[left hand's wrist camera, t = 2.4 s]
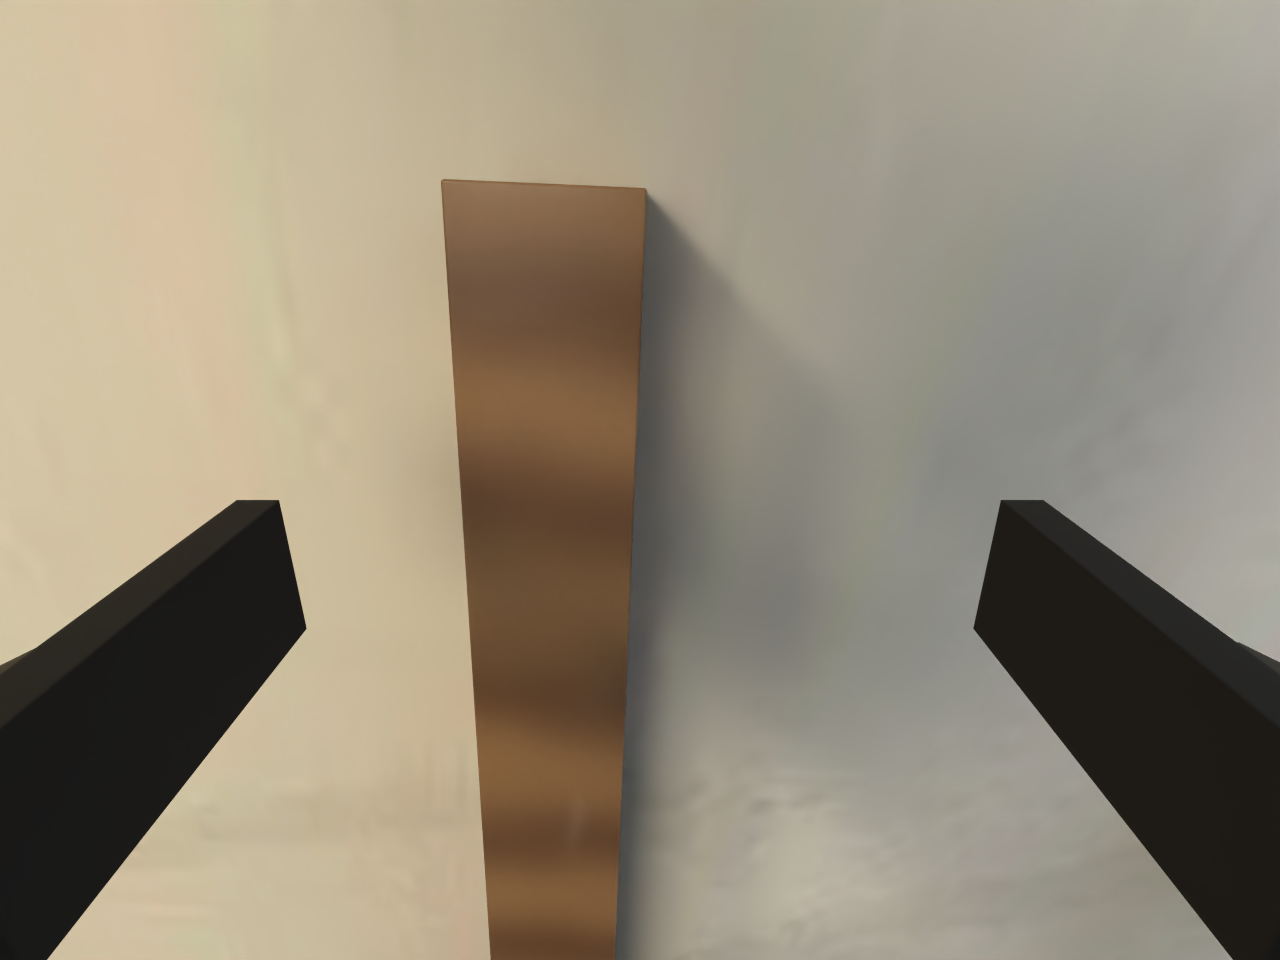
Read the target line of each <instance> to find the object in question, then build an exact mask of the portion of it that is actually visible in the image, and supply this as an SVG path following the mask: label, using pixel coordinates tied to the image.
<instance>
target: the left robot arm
mask: <svg viewBox="0 0 1280 960" xmlns="http://www.w3.org/2000/svg"><path fill="white" fill-rule="evenodd" d="M306 629H307V628H306V624H305V619H304V614H303V610H302V605H301V600H300V596H299V591H298V587H297V582H296V577H295V573H294V568H293V563H292V559H291V554H290V549H289V545H288V540H287V535H286V531H285V526H284V521H283V517H282V512H281V508H280V503H279V500H236V501H235V502H234V503H232V504H231V505H230V506H228V507H227V508H225V509H224V510H223V511H221V512H220V513H219V514H217V515H216V516H215V517H213V518H212V519H211V520H209V521H208V522H206V523H205V524H204V525H202V526H201V527H200V528H198V529H197V530H196V531H194V532H193V533H192V534H190V535H189V536H187V537H186V538H185V539H183V540H182V541H181V542H179V543H178V544H177V545H175V546H174V547H173V548H171V549H170V550H168V551H167V552H166V553H164V554H163V555H162V556H160V557H159V558H158V559H156V560H155V561H154V562H152V563H151V564H149V565H148V566H147V567H145V568H144V569H143V570H141V571H140V572H139V573H137V574H136V575H135V576H133V577H132V578H130V579H129V580H128V581H126V582H125V583H124V584H122V585H121V586H120V587H118V588H117V589H115V590H114V591H113V592H111V593H110V594H109V595H107V596H106V597H105V598H103V599H102V600H101V601H99V602H98V603H96V604H95V605H94V606H92V607H91V608H90V609H88V610H87V611H86V612H84V613H83V614H82V615H80V616H79V617H77V618H76V619H75V620H73V621H72V622H71V623H69V624H68V625H67V626H65V627H64V628H63V629H61V630H60V631H58V632H57V633H56V634H54V635H53V636H52V637H50V638H49V639H48V640H46V641H45V642H44V643H42V644H41V645H39V646H38V647H37V648H35V649H33V650H31V651H29V652H27V653H25V654H23V655H21V656H19V657H17V658H15V659H13V660H11V661H9V662H6V663H4V664H2V665H0V960H47V959H48V958H49V956H50V955H51V954H52V953H53V951H54V950H55V949H56V947H57V946H58V945H59V944H60V942H61V941H62V940H63V939H64V937H65V936H66V935H67V933H68V932H69V931H70V930H71V928H72V927H73V926H74V924H75V923H76V922H77V921H78V919H79V918H80V917H81V916H82V914H83V913H84V912H85V910H86V909H87V908H88V907H89V905H90V904H91V903H92V902H93V900H94V899H95V898H96V896H97V895H98V894H99V893H100V891H101V890H102V889H103V888H104V886H105V885H106V884H107V882H108V881H109V880H110V879H111V877H112V876H113V875H114V873H115V872H116V871H117V870H118V868H119V867H120V866H121V865H122V863H123V862H124V861H125V859H126V858H127V857H128V856H129V854H130V853H131V852H132V851H133V849H134V848H135V847H136V845H137V844H138V843H139V842H140V840H141V839H142V838H143V836H144V835H145V834H146V833H147V831H148V830H149V829H150V828H151V826H152V825H153V824H154V822H155V821H156V820H157V819H158V817H159V816H160V815H161V814H162V812H163V811H164V810H165V808H166V807H167V806H168V805H169V803H170V802H171V801H172V800H173V798H174V797H175V796H176V794H177V793H178V792H179V791H180V789H181V788H182V787H183V785H184V784H185V783H186V782H187V780H188V779H189V778H190V777H191V775H192V774H193V773H194V771H195V770H196V769H197V768H198V766H199V765H200V764H201V763H202V761H203V760H204V759H205V757H206V756H207V755H208V754H209V752H210V751H211V750H212V748H213V747H214V746H215V745H216V743H217V742H218V741H219V740H220V738H221V737H222V736H223V734H224V733H225V732H226V731H227V729H228V728H229V727H230V726H231V724H232V723H233V722H234V720H235V719H236V718H237V717H238V715H239V714H240V713H241V712H242V710H243V709H244V708H245V706H246V705H247V704H248V703H249V701H250V700H251V699H252V697H253V696H254V695H255V694H256V692H257V691H258V690H259V689H260V687H261V686H262V685H263V683H264V682H265V681H266V680H267V678H268V677H269V676H270V675H271V673H272V672H273V671H274V669H275V668H276V667H277V666H278V664H279V663H280V662H281V660H282V659H283V658H284V657H285V655H286V654H287V653H288V652H289V650H290V649H291V648H292V646H293V645H294V644H295V643H296V641H297V640H298V639H299V638H300V636H301V635H302V634H303V632H304V631H305V630H306ZM973 629H974V630H975V631H976V632H977V634H978V635H979V636H980V638H981V639H982V640H983V641H984V643H985V644H986V645H987V646H988V648H989V649H990V650H991V652H992V653H993V654H994V655H995V657H996V658H997V659H998V660H999V662H1000V663H1001V664H1002V666H1003V667H1004V668H1005V669H1006V671H1007V672H1008V673H1009V675H1010V676H1011V677H1012V678H1013V680H1014V681H1015V682H1016V683H1017V685H1018V686H1019V687H1020V689H1021V690H1022V691H1023V692H1024V694H1025V695H1026V696H1027V697H1028V699H1029V700H1030V701H1031V703H1032V704H1033V705H1034V706H1035V708H1036V709H1037V710H1038V712H1039V713H1040V714H1041V715H1042V717H1043V718H1044V719H1045V720H1046V722H1047V723H1048V724H1049V726H1050V727H1051V728H1052V729H1053V731H1054V732H1055V733H1056V734H1057V736H1058V737H1059V738H1060V740H1061V741H1062V742H1063V743H1064V745H1065V746H1066V747H1067V748H1068V750H1069V751H1070V752H1071V754H1072V755H1073V756H1074V757H1075V759H1076V760H1077V761H1078V763H1079V764H1080V765H1081V766H1082V768H1083V769H1084V770H1085V771H1086V773H1087V774H1088V775H1089V777H1090V778H1091V779H1092V780H1093V782H1094V783H1095V784H1096V785H1097V787H1098V788H1099V789H1100V791H1101V792H1102V793H1103V794H1104V796H1105V797H1106V798H1107V800H1108V801H1109V802H1110V803H1111V805H1112V806H1113V807H1114V808H1115V810H1116V811H1117V812H1118V814H1119V815H1120V816H1121V817H1122V819H1123V820H1124V821H1125V822H1126V824H1127V825H1128V826H1129V828H1130V829H1131V830H1132V831H1133V833H1134V834H1135V835H1136V836H1137V838H1138V839H1139V840H1140V842H1141V843H1142V844H1143V845H1144V847H1145V848H1146V849H1147V851H1148V852H1149V853H1150V854H1151V856H1152V857H1153V858H1154V859H1155V861H1156V862H1157V863H1158V865H1159V866H1160V867H1161V868H1162V870H1163V871H1164V872H1165V873H1166V875H1167V876H1168V877H1169V879H1170V880H1171V881H1172V882H1173V884H1174V885H1175V886H1176V888H1177V889H1178V890H1179V891H1180V893H1181V894H1182V895H1183V896H1184V898H1185V899H1186V900H1187V902H1188V903H1189V904H1190V905H1191V907H1192V908H1193V909H1194V910H1195V912H1196V913H1197V914H1198V916H1199V917H1200V918H1201V919H1202V921H1203V922H1204V923H1205V924H1206V926H1207V927H1208V928H1209V930H1210V931H1211V932H1212V933H1213V935H1214V936H1215V937H1216V939H1217V940H1218V941H1219V942H1220V944H1221V945H1222V946H1223V947H1224V949H1225V950H1226V951H1227V953H1228V954H1229V955H1230V956H1231V958H1232V959H1233V960H1280V662H1278V661H1276V660H1274V659H1272V658H1270V657H1268V656H1265V655H1263V654H1261V653H1259V652H1257V651H1255V650H1253V649H1251V648H1249V647H1247V646H1245V645H1243V644H1241V643H1236V642H1235V641H1234V640H1232V639H1231V638H1230V637H1228V636H1227V635H1226V634H1224V633H1223V632H1222V631H1220V630H1219V629H1217V628H1216V627H1215V626H1213V625H1212V624H1211V623H1209V622H1208V621H1207V620H1205V619H1204V618H1203V617H1201V616H1200V615H1198V614H1197V613H1196V612H1194V611H1193V610H1192V609H1190V608H1189V607H1188V606H1186V605H1185V604H1184V603H1182V602H1181V601H1179V600H1178V599H1177V598H1175V597H1174V596H1173V595H1171V594H1170V593H1169V592H1167V591H1166V590H1165V589H1163V588H1162V587H1160V586H1159V585H1158V584H1156V583H1155V582H1154V581H1152V580H1151V579H1150V578H1148V577H1147V576H1145V575H1144V574H1143V573H1141V572H1140V571H1139V570H1137V569H1136V568H1135V567H1133V566H1132V565H1131V564H1129V563H1128V562H1126V561H1125V560H1124V559H1122V558H1121V557H1120V556H1118V555H1117V554H1116V553H1114V552H1113V551H1112V550H1110V549H1109V548H1107V547H1106V546H1105V545H1103V544H1102V543H1101V542H1099V541H1098V540H1097V539H1095V538H1094V537H1093V536H1091V535H1090V534H1088V533H1087V532H1086V531H1084V530H1083V529H1082V528H1080V527H1079V526H1078V525H1076V524H1075V523H1074V522H1072V521H1071V520H1069V519H1068V518H1067V517H1065V516H1064V515H1063V514H1061V513H1060V512H1059V511H1057V510H1056V509H1055V508H1053V507H1052V506H1050V505H1049V504H1048V503H1046V502H1045V501H1044V500H1001V503H1000V508H999V512H998V517H997V521H996V526H995V531H994V535H993V540H992V545H991V549H990V554H989V559H988V563H987V568H986V573H985V577H984V582H983V587H982V591H981V596H980V600H979V605H978V610H977V614H976V619H975V624H974V628H973Z"/></svg>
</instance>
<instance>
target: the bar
mask: <svg viewBox="0 0 1280 960" xmlns="http://www.w3.org/2000/svg"><path fill="white" fill-rule="evenodd" d="M441 189H442V205H443V220H444V236H445V252H446V267H447V283H448V299H449V314H450V330H451V345H452V361H453V377H454V392H455V408H456V423H457V439H458V455H459V470H460V486H461V502H462V517H463V533H464V548H465V564H466V580H467V595H468V611H469V627H470V642H471V658H472V673H473V689H474V705H475V720H476V736H477V751H478V767H479V783H480V798H481V814H482V830H483V845H484V861H485V876H486V892H487V908H488V923H489V939H490V955H491V960H615V948H616V924H617V900H618V876H619V852H620V827H621V803H622V779H623V755H624V731H625V707H626V682H627V658H628V634H629V610H630V586H631V562H632V537H633V513H634V489H635V465H636V441H637V416H638V392H639V368H640V344H641V320H642V296H643V271H644V247H645V223H646V199H647V190H646V189H645V188H630V187H608V186H586V185H563V184H541V183H518V182H496V181H473V180H451V179H443V180H442V181H441Z"/></svg>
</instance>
